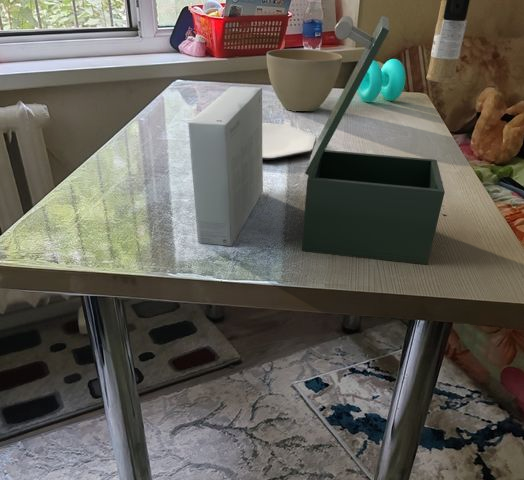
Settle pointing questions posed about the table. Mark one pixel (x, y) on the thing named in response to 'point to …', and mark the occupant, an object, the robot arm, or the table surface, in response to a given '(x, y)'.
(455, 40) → the sprinkles bottle
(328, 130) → the bin lid
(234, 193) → the skincare box
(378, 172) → the trash bin
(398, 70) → the turquoise yoyo
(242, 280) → the table surface
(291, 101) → the flower pot
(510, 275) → the table surface
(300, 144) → the plate
